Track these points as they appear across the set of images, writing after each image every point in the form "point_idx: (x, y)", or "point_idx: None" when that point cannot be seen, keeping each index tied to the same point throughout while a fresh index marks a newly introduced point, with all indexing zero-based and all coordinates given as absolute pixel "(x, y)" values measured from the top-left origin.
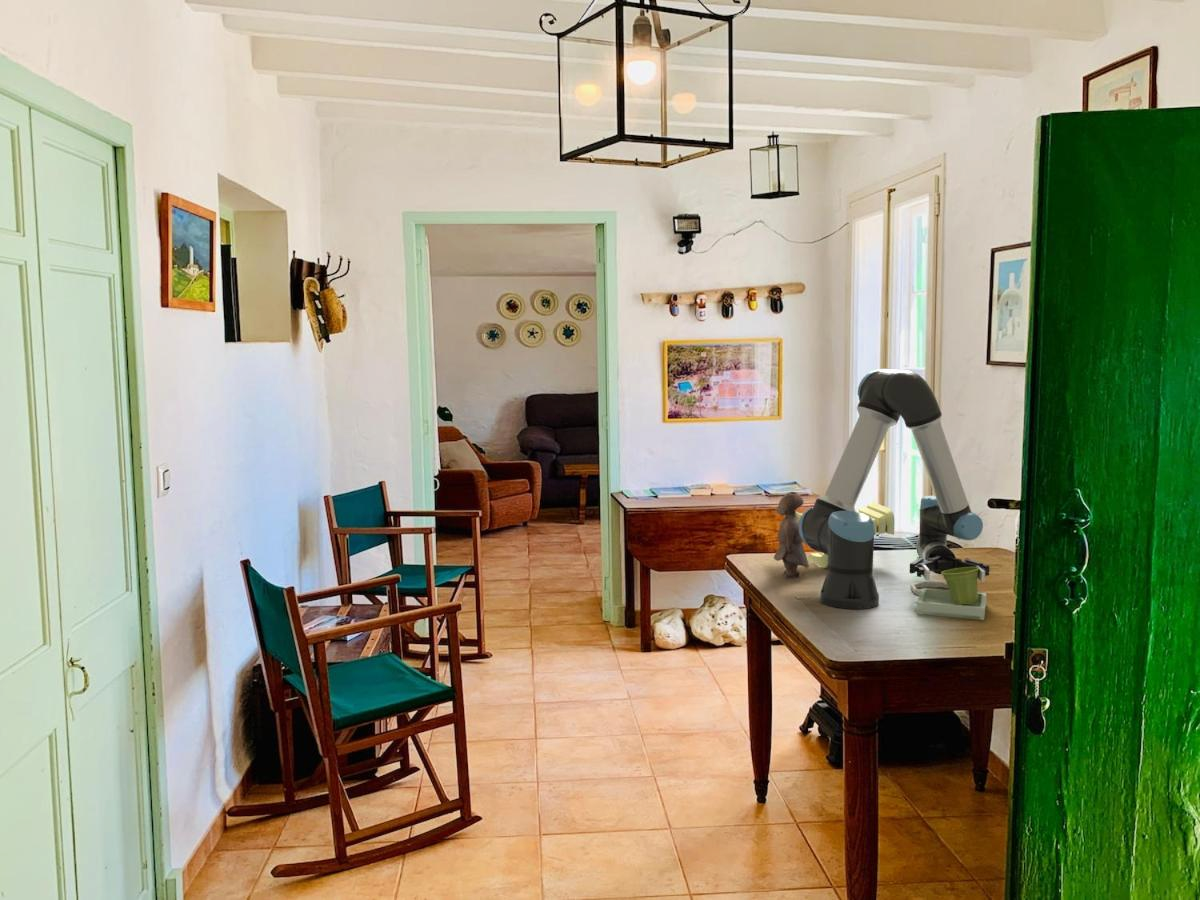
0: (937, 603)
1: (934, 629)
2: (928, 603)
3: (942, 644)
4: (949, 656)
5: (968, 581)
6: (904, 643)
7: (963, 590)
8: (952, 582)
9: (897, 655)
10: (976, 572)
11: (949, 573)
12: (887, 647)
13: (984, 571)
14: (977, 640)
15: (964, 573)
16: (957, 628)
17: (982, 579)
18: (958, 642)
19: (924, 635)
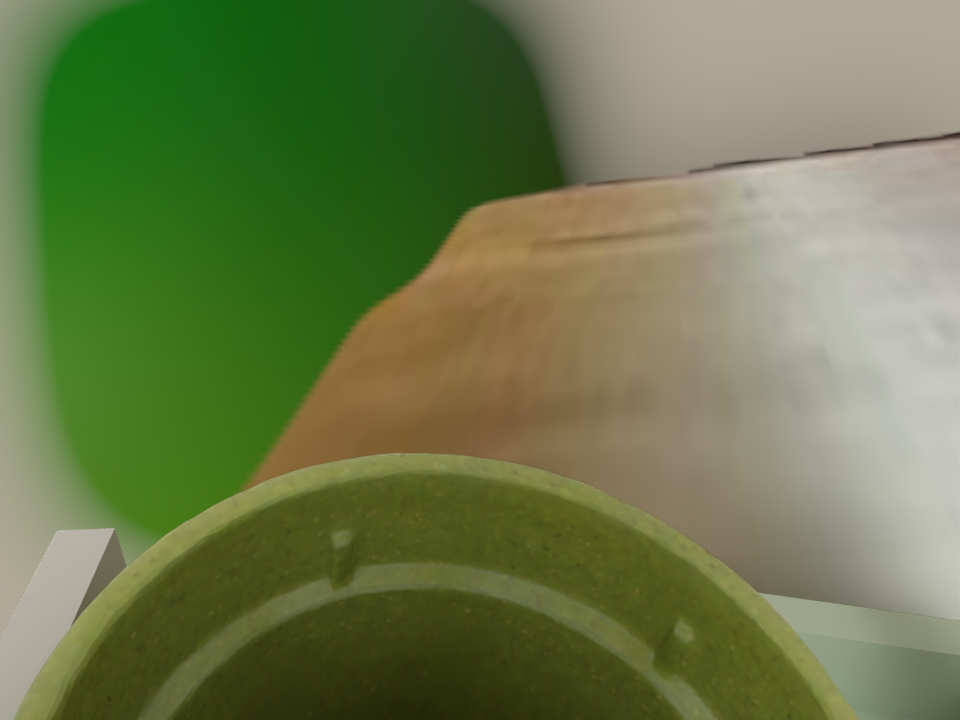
0: (790, 613)
1: (744, 394)
2: (888, 612)
3: (683, 250)
4: (651, 182)
5: (386, 620)
6: (859, 241)
7: (466, 718)
8: (639, 704)
9: (848, 171)
10: (192, 598)
11: (714, 561)
12: (916, 209)
13: (52, 549)
14: (505, 298)
15: (460, 477)
16: (593, 425)
17: None
18: (606, 272)
19: (787, 317)
